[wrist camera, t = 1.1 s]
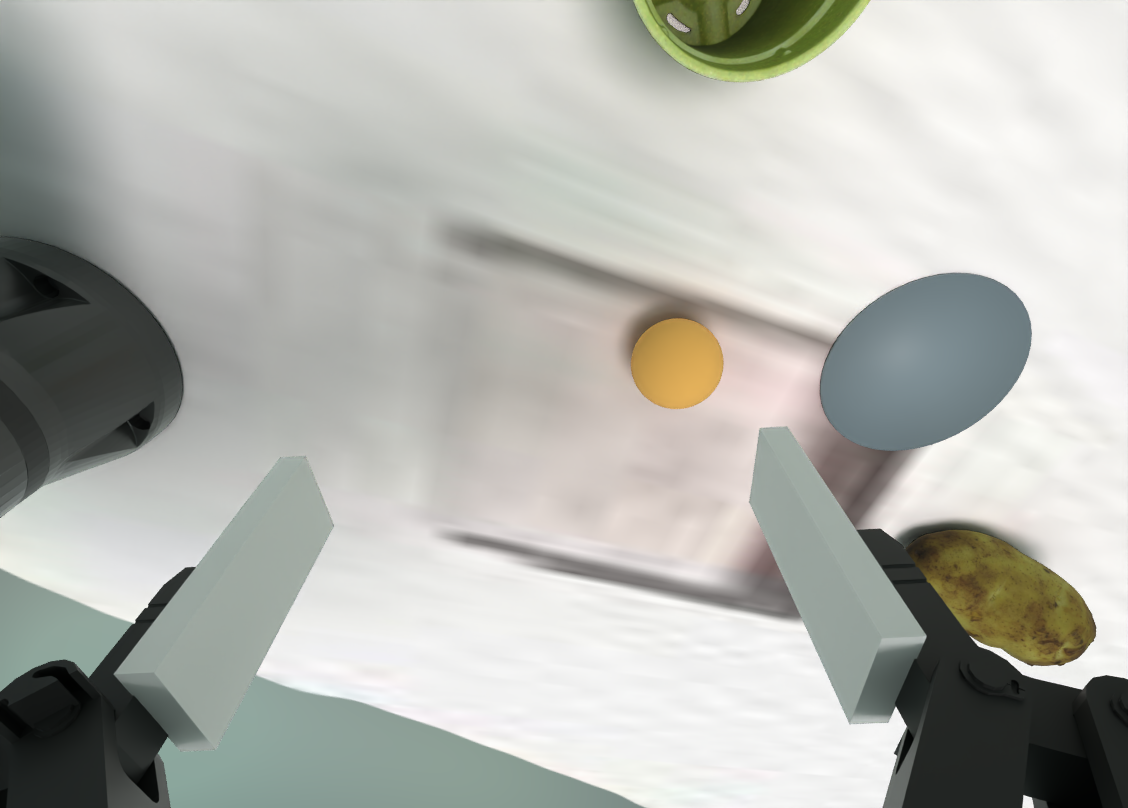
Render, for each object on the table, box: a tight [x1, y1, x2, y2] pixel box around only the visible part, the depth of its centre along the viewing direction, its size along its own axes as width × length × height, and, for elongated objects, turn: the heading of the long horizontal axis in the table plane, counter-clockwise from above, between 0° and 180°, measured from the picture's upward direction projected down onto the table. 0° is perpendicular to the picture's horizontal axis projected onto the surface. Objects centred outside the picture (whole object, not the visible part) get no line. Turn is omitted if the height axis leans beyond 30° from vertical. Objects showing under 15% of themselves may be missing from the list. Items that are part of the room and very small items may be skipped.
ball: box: [631, 318, 723, 409], centre depth 32 cm, size 6×6×6 cm
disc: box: [820, 273, 1032, 451], centre depth 35 cm, size 13×13×1 cm
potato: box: [905, 530, 1096, 666], centre depth 40 cm, size 8×13×8 cm, turn 48°
